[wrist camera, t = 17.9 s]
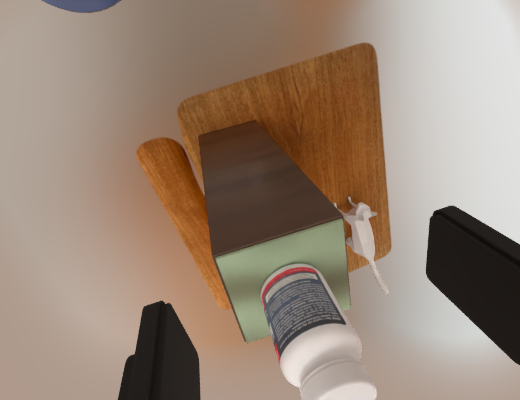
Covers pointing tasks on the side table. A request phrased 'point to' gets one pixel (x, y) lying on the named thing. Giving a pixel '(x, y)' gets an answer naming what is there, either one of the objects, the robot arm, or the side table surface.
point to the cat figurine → (363, 237)
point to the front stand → (266, 221)
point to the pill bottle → (314, 336)
